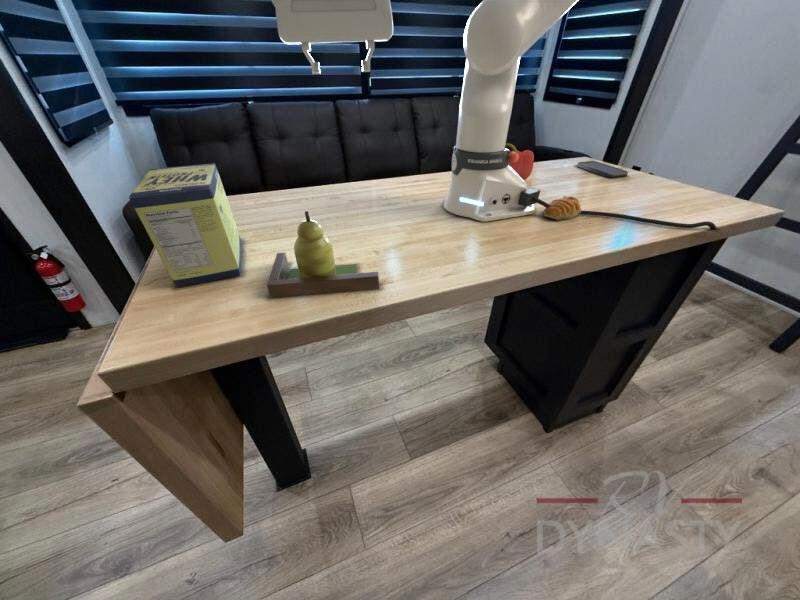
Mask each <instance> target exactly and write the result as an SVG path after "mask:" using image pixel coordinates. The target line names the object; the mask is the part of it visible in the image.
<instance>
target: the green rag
mask: <svg viewBox="0 0 800 600" xmlns="http://www.w3.org/2000/svg"><path fill="white" fill-rule="evenodd" d="M335 268H336V275H341V274H353V273H358V271H357V264H341V265H340V264H339V265H335ZM292 278H300V275H299V270H298V268H291V269H289V270H288V275H287V278H286V279H292Z"/></svg>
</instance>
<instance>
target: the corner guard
mask: <svg viewBox="0 0 800 600" xmlns="http://www.w3.org/2000/svg"><path fill="white" fill-rule="evenodd" d="M288 267H289V261H288V258H287V253H286V252H277V253H276V255H275V259H274V261H273V265H272V268H271V270H270V275H269V277H268V281H267V283H266V287H267V291H268V294H269V298H270V299H275V298H277V299H278V298H288V297H289V298H290V297H300V296H310V295H311V296H312V295H323V294H334V293H347V292H357V291H368V290H379V289H380V276H379V272H378V271H367V272H357V273H353V274H341V275H329V276H316V277H304V278H292V279H287V278H286V276H287V270H288Z"/></svg>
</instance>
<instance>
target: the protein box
mask: <svg viewBox="0 0 800 600" xmlns="http://www.w3.org/2000/svg"><path fill="white" fill-rule="evenodd" d="M128 199H129V200H130V203H131V205H132V206H133V208H134V210H135V212H136V214H137V216H138V218H139V220H140V222H141V223H142V225H143V228H144V229H145V231H146V233H147V235H148V237H149V238H150V241H151V242H152V244H153V246H154V248H155V250H156V252H157V254H158V256H159V257H160V260H161V262H162V263H163V265H164V267H165V269H166V271H167V273H168V275H169V276H170V278H171V280H172V282H173V284H174V286H175V288H182V287H187V286H192V285H198V284H202V283H207V282H213V281H218V280H224V279H229V278H235V277H240V276H242V239H241V236H240V232H239V230H238V227H237V223H236V221H235V218H234V215H233V214H234V213H233V212H232V209H231V206H230V203H229V199H228V197H227V194H226V191H225V188H224V185H223V182H222V180H221V176H220V174H219V171H218V168H217V165H216V163H215V162H214V163H204V164H191V165H184V166H183V165H182V166H171V167H158V168H157V167H156V168H149V170H148V172H147V173H146V175H145V176H144V177H143V178H142V180H141V181H140V182H139V183H138V185H137V186H136V187H135V188H134V190H133V191H132V192H131V193H130V195H129V196H128Z"/></svg>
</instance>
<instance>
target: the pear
mask: <svg viewBox="0 0 800 600" xmlns="http://www.w3.org/2000/svg"><path fill="white" fill-rule="evenodd" d="M304 216H305V220H303V221H302V222H300V224H298V227H297V238H296V239H295V242H294V246H293V252H294V257H295V262H296V267H297V269H298V270H299V275H300V278H304V277H316V276H329V275H336V268H335V266H336V263H335V254H334V247H333V244H332V242H331V241H332V240H330V238H329V237H328V236H327V235H326V234H325V233H324V229H323V226H322V225H321V224H320V222H318V221H317V220H314V219H311V217H310V211H309V210H305V211H304Z"/></svg>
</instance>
